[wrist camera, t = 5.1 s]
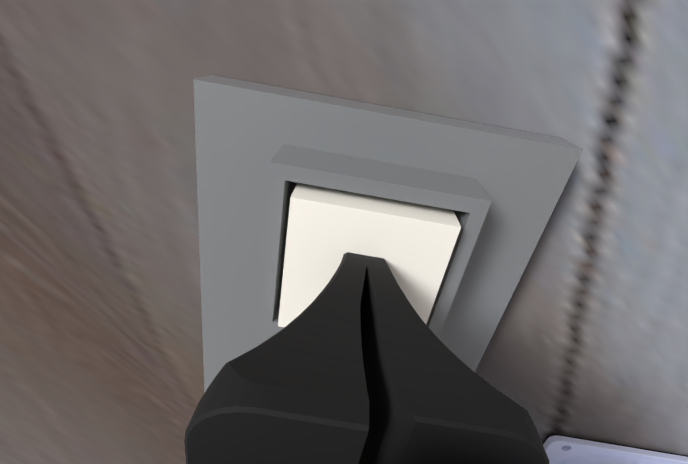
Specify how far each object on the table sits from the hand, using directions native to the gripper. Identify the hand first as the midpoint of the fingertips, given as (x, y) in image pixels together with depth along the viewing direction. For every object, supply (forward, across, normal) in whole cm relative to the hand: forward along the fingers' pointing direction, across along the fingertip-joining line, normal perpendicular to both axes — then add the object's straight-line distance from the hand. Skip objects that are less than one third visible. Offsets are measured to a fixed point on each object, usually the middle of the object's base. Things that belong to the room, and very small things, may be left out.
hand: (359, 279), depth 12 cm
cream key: (+2, 0, 0) cm, 2 cm away
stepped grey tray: (+4, 0, +8) cm, 9 cm away
